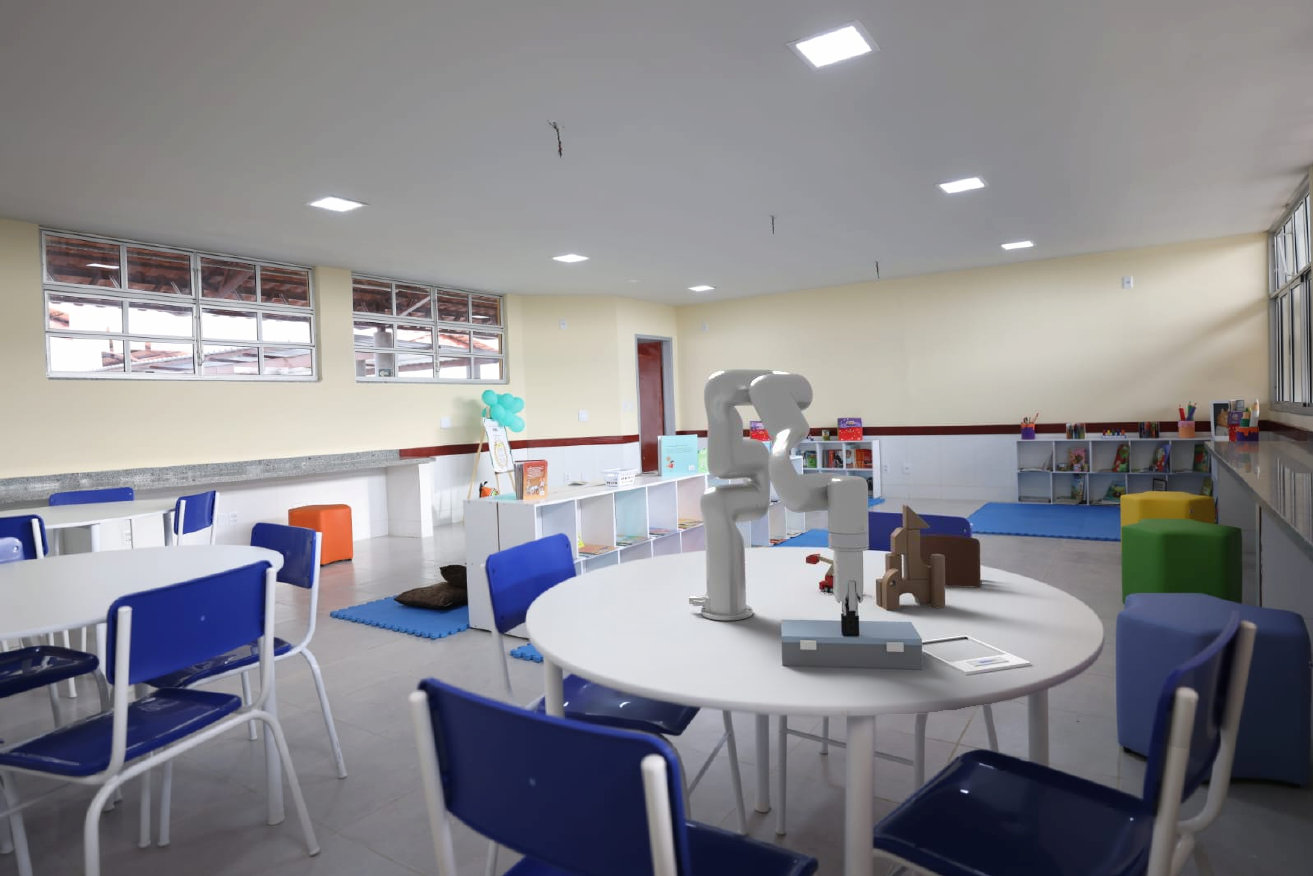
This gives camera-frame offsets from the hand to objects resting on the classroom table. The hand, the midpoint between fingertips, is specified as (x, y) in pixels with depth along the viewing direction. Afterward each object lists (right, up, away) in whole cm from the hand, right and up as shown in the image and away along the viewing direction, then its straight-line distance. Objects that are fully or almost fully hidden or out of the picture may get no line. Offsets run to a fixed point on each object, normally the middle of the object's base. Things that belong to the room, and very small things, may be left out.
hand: (850, 634), depth 140 cm
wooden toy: (+26, -4, +40) cm, 48 cm away
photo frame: (+24, -6, +4) cm, 25 cm away
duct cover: (0, -2, +3) cm, 4 cm away
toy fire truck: (+10, -4, +57) cm, 58 cm away
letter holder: (+43, -3, +64) cm, 77 cm away
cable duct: (+1, -6, +4) cm, 7 cm away
